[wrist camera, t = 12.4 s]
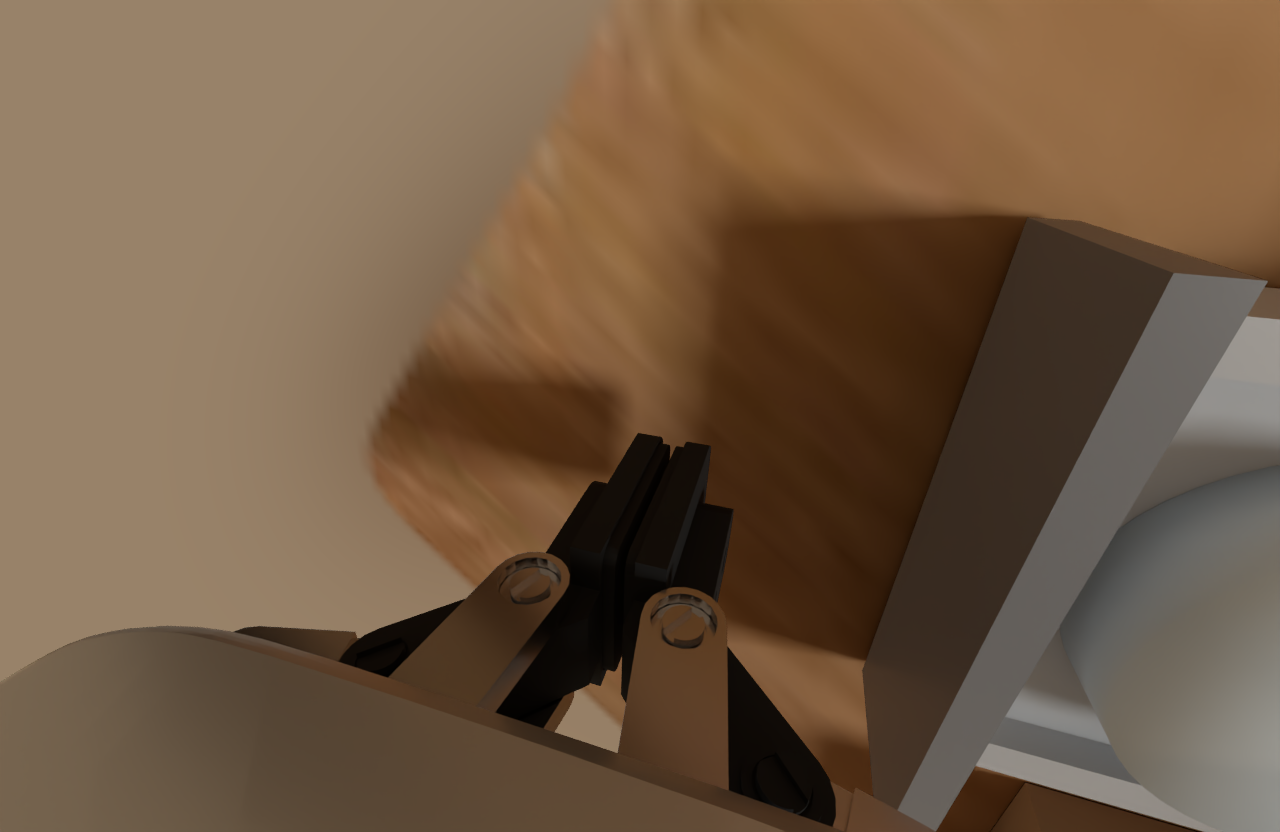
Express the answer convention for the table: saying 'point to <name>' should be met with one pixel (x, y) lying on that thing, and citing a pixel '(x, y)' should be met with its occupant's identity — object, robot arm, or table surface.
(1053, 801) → the block
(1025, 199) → the table surface
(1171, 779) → the white domed disc
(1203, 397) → the tray
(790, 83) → the table surface
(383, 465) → the table surface
